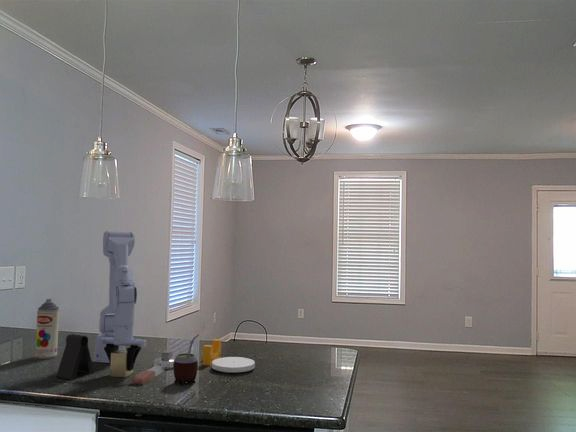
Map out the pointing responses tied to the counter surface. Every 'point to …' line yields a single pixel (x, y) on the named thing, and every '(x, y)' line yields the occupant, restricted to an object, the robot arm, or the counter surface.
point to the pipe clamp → (211, 352)
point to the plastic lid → (233, 364)
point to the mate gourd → (186, 366)
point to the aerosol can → (47, 331)
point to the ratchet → (155, 368)
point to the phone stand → (75, 358)
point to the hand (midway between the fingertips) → (121, 369)
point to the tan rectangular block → (119, 364)
